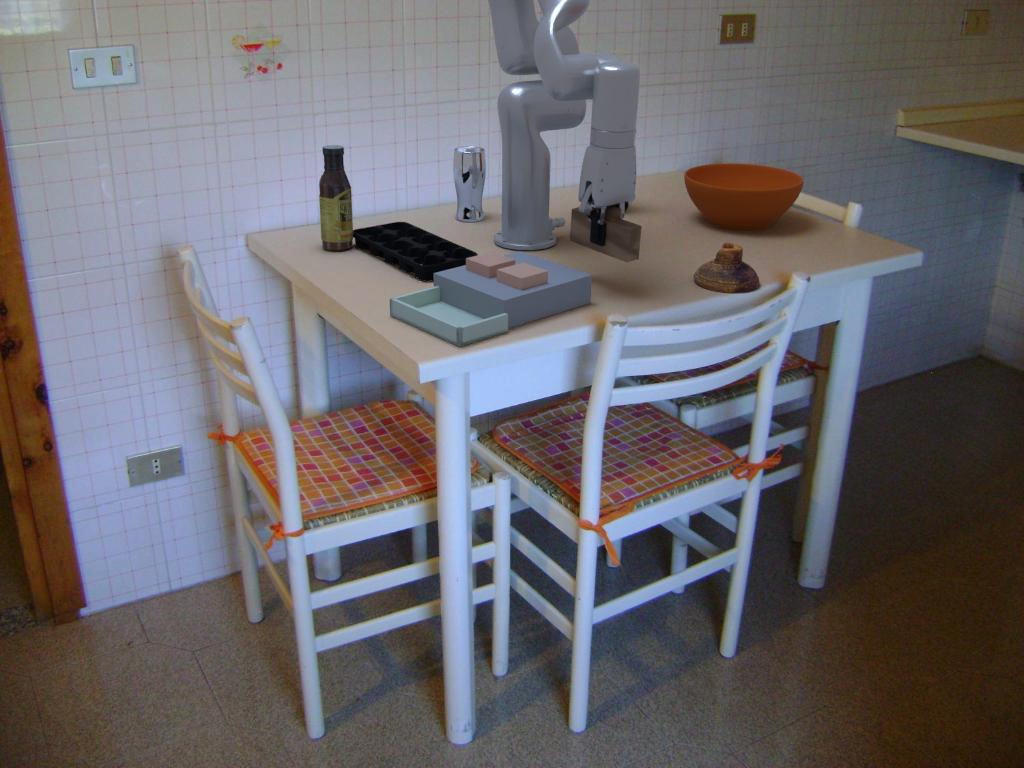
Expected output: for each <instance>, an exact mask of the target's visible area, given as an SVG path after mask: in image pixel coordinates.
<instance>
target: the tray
mask: <svg viewBox="0 0 1024 768" xmlns="http://www.w3.org/2000/svg"><path fill="white" fill-rule="evenodd" d="M389 316H390V317H392V318H394V319H396V320H399V321H401V322H403V323H405V324H408V325H409V326H412V327H413V328H414V327H415V328H416V329H419V330H420V331H423V332H425V333H428V334H430V335H432V336H434V337H437V338H438V339H441V340H444V341H445V342H448V343H450V344H452V345H455V346H456V347H459V348H460V347H461V348H462V347H464V346H467V345H470V344H473V343H477V342H480V341H484V340H486V339H490V338H492V337H496V336H498V335H502V334H505V333H508V332H509V329H508V314H507V313H503V314H500V315H497V316H493V317H490V318H487V319H483V318H480V317H478V316H476V315H473V314H471V313H468V312H466V311H463V310H461V309H459V308H456V307H454V306H451V305H449V304H447V303H444V302H442V301H440V287H439V286H435V287H434V286H431V287H429V288H425V289H420V290H416V291H413V292H409V293H405V294H402V295H398V296H394V297H390V298H389Z"/></svg>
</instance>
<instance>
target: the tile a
mask: <svg viewBox="0 0 1024 768" xmlns="http://www.w3.org/2000/svg"><path fill="white" fill-rule="evenodd" d="M512 265H515V259H512V258H509V257H506V256H503V254H500V253H496V252H494V251H490V252H487V253H482V254H478V256H474V257H470V258H466V270H468V271H471V272H474V273H476V274H479V275H482V276H484V277H487V278H491V277H495V276H497V269H501V268H505V267H508V266H512Z"/></svg>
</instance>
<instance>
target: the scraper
mask: <svg viewBox="0 0 1024 768" xmlns="http://www.w3.org/2000/svg"><path fill="white" fill-rule="evenodd" d="M596 211H597V213H598V214H599V209H596ZM604 224H606V238H605V245H604V246H599V245H597V244H594V243H591V242H590V231H591V221H589V219H588V216H587V215H586V214H584V213H582V212H580V211H579V207H574V208H571V215H570V231H569V242H571V243H574V244H577V245H580V246H581V247H584V248H587V249H589V250H593V251H595V252H598V253H600V254H603V255H606V256H609V257H611V258H614V259H617V260H619V261H622V262H624V263H631V262H633V261H636V260H637V261H638V260H639V258H640V248H641V238H642V237H641V236H642V225H640V224H637V223H634V222H631V221H628V220H626V219H624V218H623V219H621V208H618V207H615V206H612V205H611V206H607V207H606V214H605V221H604Z"/></svg>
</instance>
